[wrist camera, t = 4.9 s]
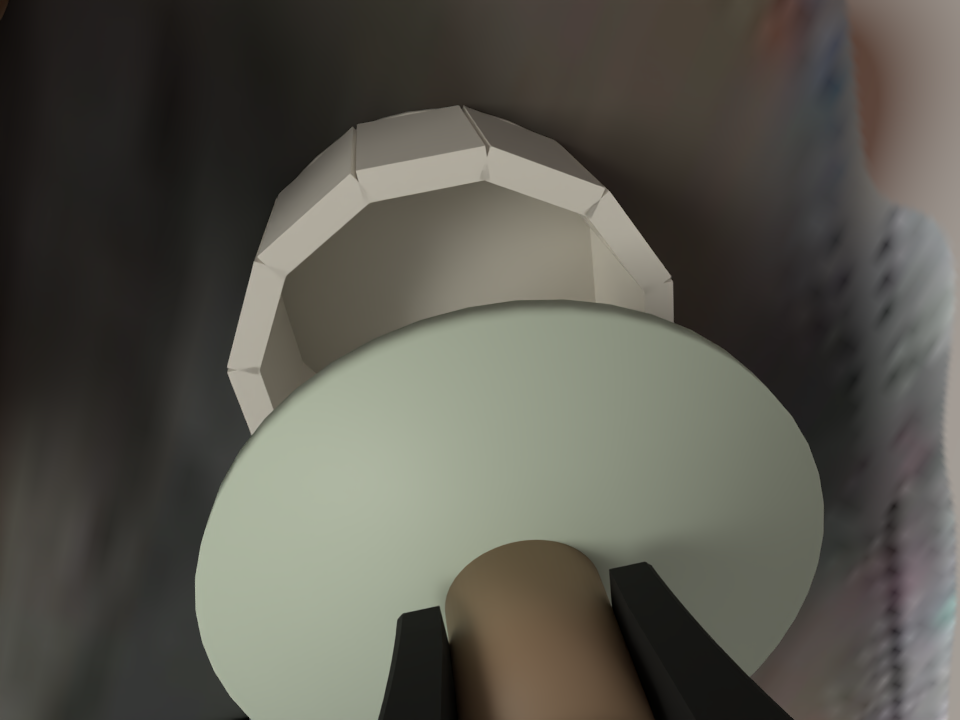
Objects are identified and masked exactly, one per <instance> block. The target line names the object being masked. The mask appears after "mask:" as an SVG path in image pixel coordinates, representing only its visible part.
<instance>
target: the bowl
mask: <svg viewBox="0 0 960 720" xmlns="http://www.w3.org/2000/svg"><path fill="white" fill-rule="evenodd" d="M670 278H671V275H670V274H669V273H668V271H667V270H666V269H665V267H664V266H663V264H662V263H661V262H660V260H659V259H658V257H657V256H656V255H655V253H654V252H653V251H652V249H651V248H650V246H649V245H648V244H647V242H646V241H645V239H644V238H643V237H642V235H641V234H640V233H639V231H638V230H637V228H636V227H635V226H634V224H633V223H632V221H631V220H630V219H629V217H628V216H627V215H626V213H625V212H624V210H623V209H622V208H621V206H620V205H619V204H618V202H617V201H616V199H615V198H614V197H613V195H612V194H611V192H610V191H609V190H608V189H607V188H606V187H605V186H604V185H602V184H601V183H600V182H599V181H598V180H597V179H596V178H595V177H594V176H593V175H592V174H591V173H590V172H589V171H588V170H587V169H585V168H584V167H583V166H582V165H581V164H580V163H579V162H578V161H577V160H576V159H575V158H574V157H573V156H572V155H571V154H570V153H569V152H567V151H566V150H565V149H564V148H563V147H562V146H561V145H560V144H559V143H557V142H556V141H555V140H553V139H550V138H547V137H545V136H542V135H539V134H537V133H534V132H532V131H530V130H528V129H525V128H523V127H521V126H519V125H517V124H515V123H512V122H510V121H508V120H505V119H502V118H499V117H495V116H492V115H489V114H486V113H482V112H479V111H476V110H474V109H471V108H468V107H466V106H463V108H462V109H461V108H460V107H459V105H457V106H451V107H446V108H441V109H435V108H432V109H424V110H416V111H407V112H403V113H399V114H396V115H392V116H388V117H384V118H381V119H378V120H376V121H372V122H367V123H362V124H357V129H354V127H352V128H350V129H349V130H348V131H347V132H346V133H345V134H344V135H343V136H342V137H341V138H340V139H338V140H337V141H335V142H334V143H333V144H331V145H330V146H329V147H328V148H326V149H325V150H324V151H323V152H321V153H320V154H319V155H318V156H316V157H315V158H314V159H313V160H312V161H311V163H310V164H309V165H308V166H307V167H306V168H305V169H304V170H303V171H302V172H301V173H300V174H299V175H298V177H297V178H296V179H295V180H293V181H292V182H291V183H290V184H289V185H288V186H287V187H286V188H285V189H284V190H282V191H281V192H280V193H279V195H278V198H276V200H275V203H274V206H273V209H272V212H271V215H270V218H269V220H268V223H267V226H266V229H265V232H264V235H263V237H262V240H261V243H260V246H259V249H258V252H257V254H256V257H255V260H254V263H253V267H252V271H251V275H250V279H249V283H248V287H247V291H246V295H245V299H244V303H243V307H242V310H241V314H240V318H239V322H238V326H237V330H236V334H235V338H234V342H233V346H232V350H231V354H230V357H229V361H228V365H227V368H228V372H227V373H228V376H229V378H230V381H231V383H232V386H233V388H234V391H235V394H236V396H237V399H238V401H239V404H240V406H241V409H242V412H243V414H244V417H245V419H246V422H247V424H248V427H249V429H250V432H251V435H252V434H253V433H254V432H255V431H256V429H257V428H258V427H259V425H260V424H261V423H262V422H263V420H264V419H265V418H266V417H267V416H268V415H269V414H270V413H271V412H272V411H273V410H274V409H275V408H276V407H277V406H278V405H280V404H281V403H282V402H283V401H284V400H285V399H286V398H287V397H288V396H289V395H290V394H291V393H292V392H293V391H294V390H295V389H296V388H298V387H299V386H300V385H302V384H303V383H304V382H306V381H307V380H308V379H310V378H311V377H313V376H314V375H315V374H317V373H318V372H319V371H321V370H322V369H324V368H325V367H326V366H328V365H329V364H330V363H332V362H333V361H335V360H337V359H338V358H340V357H342V356H344V355H346V354H348V353H349V352H351V351H353V350H355V349H357V348H358V347H360V346H362V345H364V344H366V343H367V342H369V341H371V340H373V339H375V338H377V337H380V336H382V335H385V334H387V333H390V332H392V331H394V330H397V329H399V328H402V327H404V326H407V325H409V324H412V323H414V322H417V321H419V320H423V319H426V318H430V317H434V316H437V315H441V314H445V313H449V312H452V311H456V310H460V309H464V308H467V307H474V306H481V305H488V304H494V303H501V302H508V301H515V300H556V299H566V300H575V301H585V302H594V303H604V304H611V305H615V306H620V307H624V308H628V309H632V310H636V311H640V312H645V313H649V314H653V315H655V316H658V317H660V318H663V319H665V320H668V321H670V322H673V323H674V311H673V281H672V280H671V279H670Z"/></svg>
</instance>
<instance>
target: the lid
mask: <svg viewBox="0 0 960 720" xmlns="http://www.w3.org/2000/svg"><path fill="white" fill-rule="evenodd" d="M823 531H824V502H823V495H822V489H821V483H820V477H819V473H818V470H817V467H816V464H815V461H814V459H813V456H812V453H811V450H810V447H809V445H808V443H807V441H806V439H805V438H804V436H803V434H802V433H801V431H800V429H799V428H798V426H797V424H796V422H795V421H794V419H793V417H792V416H791V415H790V414H789V412H788V411H787V410H786V409H785V408H784V407H783V405H782V404H781V403H780V402H779V401H778V400H777V398H776V397H775V396H774V395H773V394H772V393H771V391H770V390H769V389H768V388H767V387H766V386H765V385H764V384H763V383H762V382H761V381H760V380H759V379H758V378H757V377H756V376H755V375H754V374H753V373H752V372H751V371H750V370H749V369H748V368H746V367H745V366H744V365H743V364H742V363H740V362H739V361H738V360H737V359H735V358H734V357H733V356H732V355H731V354H729V353H728V352H727V351H726V350H725V349H723V348H721V347H720V346H718V345H716V344H715V343H713V342H711V341H709V340H708V339H706V338H704V337H703V336H701V335H699V334H697V333H696V332H694V331H692V330H690V329H688V328H685V327H683V326H680V325H678V324H675V323H673V322H670V321H668V320H665V319H663V318H660V317H658V316H655V315H653V314H649V313H645V312H640V311H636V310H632V309H628V308H624V307H620V306H615V305H611V304H604V303H594V302H585V301H575V300H566V299H556V300H515V301H508V302H501V303H494V304H488V305H481V306H474V307H467V308H464V309H460V310H456V311H452V312H449V313H445V314H441V315H437V316H434V317H430V318H426V319H423V320H419V321H417V322H414V323H412V324H409V325H407V326H404V327H402V328H399V329H397V330H394V331H392V332H390V333H387V334H385V335H382V336H380V337H377V338H375V339H373V340H371V341H369V342H367V343H366V344H364V345H362V346H360V347H358V348H357V349H355V350H353V351H351V352H349V353H348V354H346V355H344V356H342V357H340V358H338V359H337V360H335V361H333V362H332V363H330V364H329V365H328V366H326V367H325V368H324V369H322V370H321V371H319V372H318V373H317V374H315V375H314V376H313V377H311V378H310V379H308V380H307V381H306V382H304V383H303V384H302V385H300V386H299V387H298V388H296V389H295V390H294V391H293V392H292V393H291V394H290V395H289V396H288V397H287V398H286V399H285V400H284V401H283V402H282V403H281V404H280V405H278V406H277V407H276V408H275V409H274V410H273V411H272V412H271V413H270V414H269V415H268V416H267V417H266V418H265V419H264V420H263V422H262V423H261V424H260V425H259V427H258V428H257V429H256V431H255V432H254V433H253V434H252V436H251V437H250V438H249V440H248V441H247V442H246V443H245V445H244V446H243V447H242V448H241V450H240V451H239V453H238V455H237V456H236V458H235V460H234V462H233V464H232V465H231V467H230V469H229V471H228V473H227V474H226V476H225V478H224V480H223V481H222V483H221V485H220V488H219V491H218V494H217V496H216V499H215V502H214V505H213V507H212V510H211V513H210V516H209V519H208V522H207V525H206V529H205V532H204V536H203V539H202V542H201V547H200V553H199V559H198V565H197V570H196V576H195V598H196V615H197V620H198V625H199V629H200V634H201V639H202V643H203V645H204V648H205V650H206V653H207V655H208V657H209V660H210V662H211V665H212V667H213V670H214V672H215V673H216V675H217V676H218V678H219V679H220V681H221V683H222V684H223V686H224V687H225V689H226V690H227V692H228V694H229V695H230V697H231V698H232V699H233V700H234V701H235V702H236V703H237V704H238V706H239V707H240V708H241V709H242V710H243V711H244V712H245V713H246V715H247V716H248V717H249V718H250V719H251V720H378V717H379V714H380V710H381V706H382V702H383V698H384V694H385V689H386V685H387V680H388V676H389V671H390V666H391V661H392V655H393V649H394V642H395V635H396V626H397V619H398V618H399V617H400V616H401V615H402V614H403V613H407V612H412V611H416V610H421V609H426V608H430V607H435V606H440V610H441V614H442V618H443V622H444V626H445V629H446V633H447V637H448V641H449V645H450V654H451V662H452V670H453V678H454V687H455V695H456V705H457V715H458V720H655V718H654V716H653V713H652V710H651V708H650V705H649V703H648V700H647V697H646V695H645V692H644V690H643V687H642V684H641V682H640V679H639V677H638V674H637V671H636V669H635V666H634V664H633V661H632V659H631V656H630V653H629V651H628V648H627V646H626V643H625V640H624V638H623V635H622V633H621V630H620V627H619V625H618V622H617V620H616V617H615V614H614V612H613V609H612V603H611V590H610V576H609V569H612V568H617V567H621V566H626V565H631V564H635V563H640V562H647V563H649V564H650V565H652V566H653V568H654V569H655V571H656V572H657V573H658V575H659V576H660V577H661V578H662V580H663V581H664V582H665V584H666V585H667V586H668V587H669V589H670V590H671V591H672V592H673V593H674V595H675V596H676V597H677V598H678V600H679V601H680V602H681V603H682V604H683V606H684V607H685V608H686V609H687V610H688V611H689V612H690V614H691V615H692V616H693V617H694V618H695V619H696V621H697V622H698V623H699V624H700V625H701V626H702V627H703V628H704V630H705V631H706V632H707V633H708V634H709V635H710V636H711V637H712V638H713V639H714V641H715V642H716V643H717V644H718V645H719V646H720V647H721V648H722V649H723V650H724V651H725V652H726V653H727V654H728V655H729V656H730V657H731V658H732V659H733V660H734V662H735V663H736V664H737V665H738V666H739V667H740V668H741V669H742V670H743V671H744V672H745V673H746V674H747V675H748V676H749V677H750V676H751V675H752V674H753V673H754V672H755V671H756V670H757V669H758V668H759V667H760V666H761V665H762V663H763V662H764V661H765V660H766V659H767V657H768V656H769V655H770V654H771V653H772V651H773V650H774V649H775V648H776V647H777V645H778V644H779V642H780V641H781V639H782V638H783V636H784V635H785V633H786V632H787V630H788V629H789V627H790V626H791V624H792V623H793V621H794V620H795V618H796V616H797V614H798V612H799V610H800V608H801V606H802V604H803V602H804V600H805V598H806V596H807V594H808V592H809V589H810V586H811V583H812V580H813V577H814V574H815V571H816V568H817V565H818V562H819V556H820V550H821V545H822V539H823Z"/></svg>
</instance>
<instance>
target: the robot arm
mask: <svg viewBox="0 0 960 720" xmlns="http://www.w3.org/2000/svg"><path fill="white" fill-rule="evenodd" d="M609 576H610V590H611V603H612V609H613V612H614V614H615V617H616V620H617V622H618V625H619V627H620V630H621V633H622V635H623V638H624V640H625V643H626V646H627V648H628V651H629V653H630V656H631V659H632V661H633V664H634V666H635V669H636V671H637V674H638V677H639V679H640V682H641V684H642V687H643V690H644V692H645V695H646V697H647V700H648V703H649V705H650V708H651V710H652V713H653V716H654V718H655V720H794V719H793V718H792V717H790V716H789V715H788V714H787V713H786V712H785V711H784V710H783V709H782V708H781V707H780V706H779V705H778V704H777V703H776V702H775V701H774V700H773V699H771V698H770V697H769V696H768V695H767V694H766V693H765V692H764V691H763V690H762V689H761V688H760V687H759V686H758V685H757V684H756V683H755V682H754V681H753V680H752V679H751V678H750V677H749V676H748V675H747V674H746V673H745V672H744V671H743V670H742V669H741V668H740V667H739V666H738V665H737V664H736V663H735V662H734V660H733V659H732V658H731V657H730V656H729V655H728V654H727V653H726V652H725V651H724V650H723V649H722V648H721V647H720V646H719V645H718V644H717V643H716V642H715V641H714V639H713V638H712V637H711V636H710V635H709V634H708V633H707V632H706V631H705V630H704V628H703V627H702V626H701V625H700V624H699V623H698V622H697V621H696V619H695V618H694V617H693V616H692V615H691V614H690V612H689V611H688V610H687V609H686V608H685V607H684V606H683V604H682V603H681V602H680V601H679V600H678V598H677V597H676V596H675V595H674V593H673V592H672V591H671V590H670V589H669V587H668V586H667V585H666V584H665V582H664V581H663V580H662V578H661V577H660V576H659V575H658V573H657V572H656V571H655V569H654V568H653V566H652V565H650V564H649V563H647V562H640V563H635V564H631V565H626V566H621V567H617V568H612V569H609ZM378 720H458V715H457V705H456V695H455V687H454V678H453V670H452V662H451V654H450V645H449V641H448V637H447V633H446V629H445V626H444V622H443V618H442V614H441V610H440V606H435V607H430V608H426V609H421V610H416V611H412V612H407V613H403V614H402V615H401V616H400V617H399V618H398V619H397V626H396V635H395V642H394V649H393V655H392V661H391V666H390V671H389V676H388V680H387V685H386V689H385V694H384V698H383V702H382V706H381V710H380V714H379V717H378Z"/></svg>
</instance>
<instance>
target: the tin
mask: <svg viewBox="0 0 960 720" xmlns="http://www.w3.org/2000/svg"><path fill="white" fill-rule="evenodd" d="M8 2H9V0H0V21H1V19H2V17H3V14H4V12H5V10H6V7H7V4H8Z"/></svg>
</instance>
